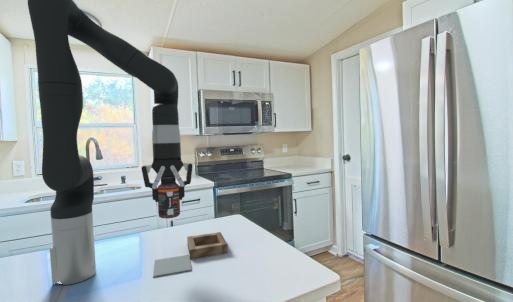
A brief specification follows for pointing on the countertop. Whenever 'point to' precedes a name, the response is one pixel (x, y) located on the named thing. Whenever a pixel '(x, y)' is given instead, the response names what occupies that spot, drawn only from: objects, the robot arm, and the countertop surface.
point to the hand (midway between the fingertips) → (169, 200)
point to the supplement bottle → (168, 198)
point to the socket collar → (206, 249)
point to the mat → (172, 265)
